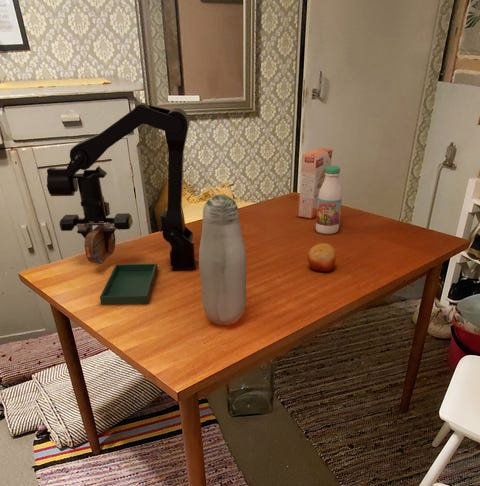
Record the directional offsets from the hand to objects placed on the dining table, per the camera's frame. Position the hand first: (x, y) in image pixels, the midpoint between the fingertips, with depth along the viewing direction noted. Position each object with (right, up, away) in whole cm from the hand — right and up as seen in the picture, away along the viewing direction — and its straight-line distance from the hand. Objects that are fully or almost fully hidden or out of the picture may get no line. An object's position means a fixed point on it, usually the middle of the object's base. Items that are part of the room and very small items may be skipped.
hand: (102, 252), depth 139 cm
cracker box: (+66, +27, +43) cm, 83 cm away
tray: (+10, -11, -8) cm, 17 cm away
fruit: (+62, -5, 0) cm, 62 cm away
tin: (0, -1, +1) cm, 2 cm away
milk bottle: (+69, +15, +27) cm, 75 cm away
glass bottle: (+36, -23, -24) cm, 49 cm away
